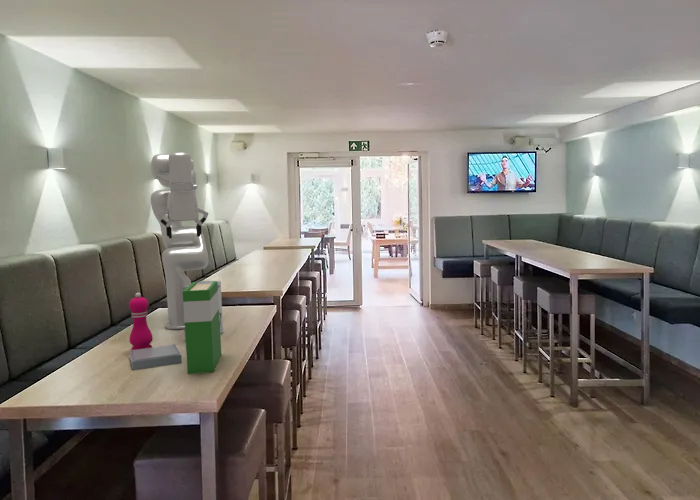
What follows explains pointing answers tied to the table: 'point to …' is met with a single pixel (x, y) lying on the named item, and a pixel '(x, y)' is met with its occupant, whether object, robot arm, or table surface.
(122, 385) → the table surface
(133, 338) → the pepper mill
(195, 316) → the hardback book
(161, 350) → the slate stand
